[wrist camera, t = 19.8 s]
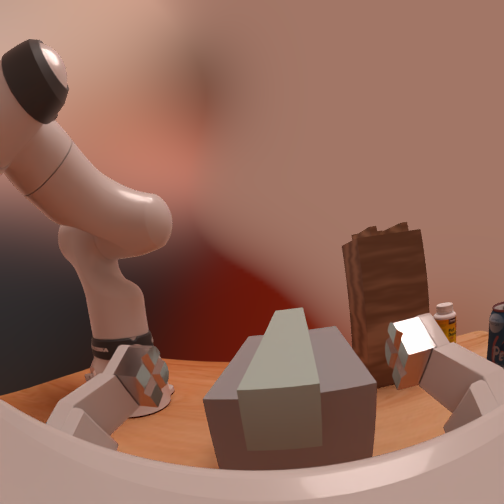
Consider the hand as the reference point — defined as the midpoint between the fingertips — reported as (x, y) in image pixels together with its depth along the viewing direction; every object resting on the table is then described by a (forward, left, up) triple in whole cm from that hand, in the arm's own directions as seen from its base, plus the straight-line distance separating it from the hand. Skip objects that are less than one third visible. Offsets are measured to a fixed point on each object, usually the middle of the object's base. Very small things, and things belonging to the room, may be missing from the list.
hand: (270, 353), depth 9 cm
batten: (-7, +12, -6) cm, 15 cm away
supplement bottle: (+7, +54, -20) cm, 58 cm away
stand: (-5, +44, -20) cm, 49 cm away
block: (-9, +16, -20) cm, 27 cm away
